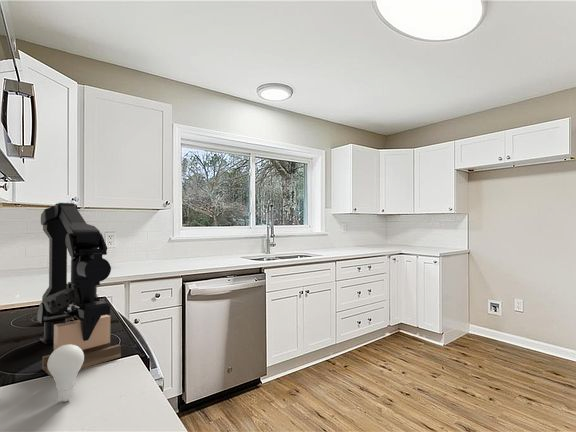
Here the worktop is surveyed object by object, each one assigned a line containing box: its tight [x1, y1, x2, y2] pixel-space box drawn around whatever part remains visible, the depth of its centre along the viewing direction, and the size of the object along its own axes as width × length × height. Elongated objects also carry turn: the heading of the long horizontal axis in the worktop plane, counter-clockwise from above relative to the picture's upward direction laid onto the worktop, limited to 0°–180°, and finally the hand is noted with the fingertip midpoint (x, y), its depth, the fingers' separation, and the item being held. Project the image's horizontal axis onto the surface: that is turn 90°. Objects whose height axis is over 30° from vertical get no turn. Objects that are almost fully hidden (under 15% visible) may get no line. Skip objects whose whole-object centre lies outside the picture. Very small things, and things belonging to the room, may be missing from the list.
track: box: [41, 339, 122, 379], centre depth 85 cm, size 8×16×3 cm, turn 141°
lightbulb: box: [47, 344, 84, 403], centre depth 67 cm, size 6×6×11 cm
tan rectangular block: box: [53, 314, 111, 351], centre depth 86 cm, size 3×12×7 cm, turn 141°
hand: (83, 339), depth 86 cm, fingers closed on tan rectangular block, 3 cm apart
